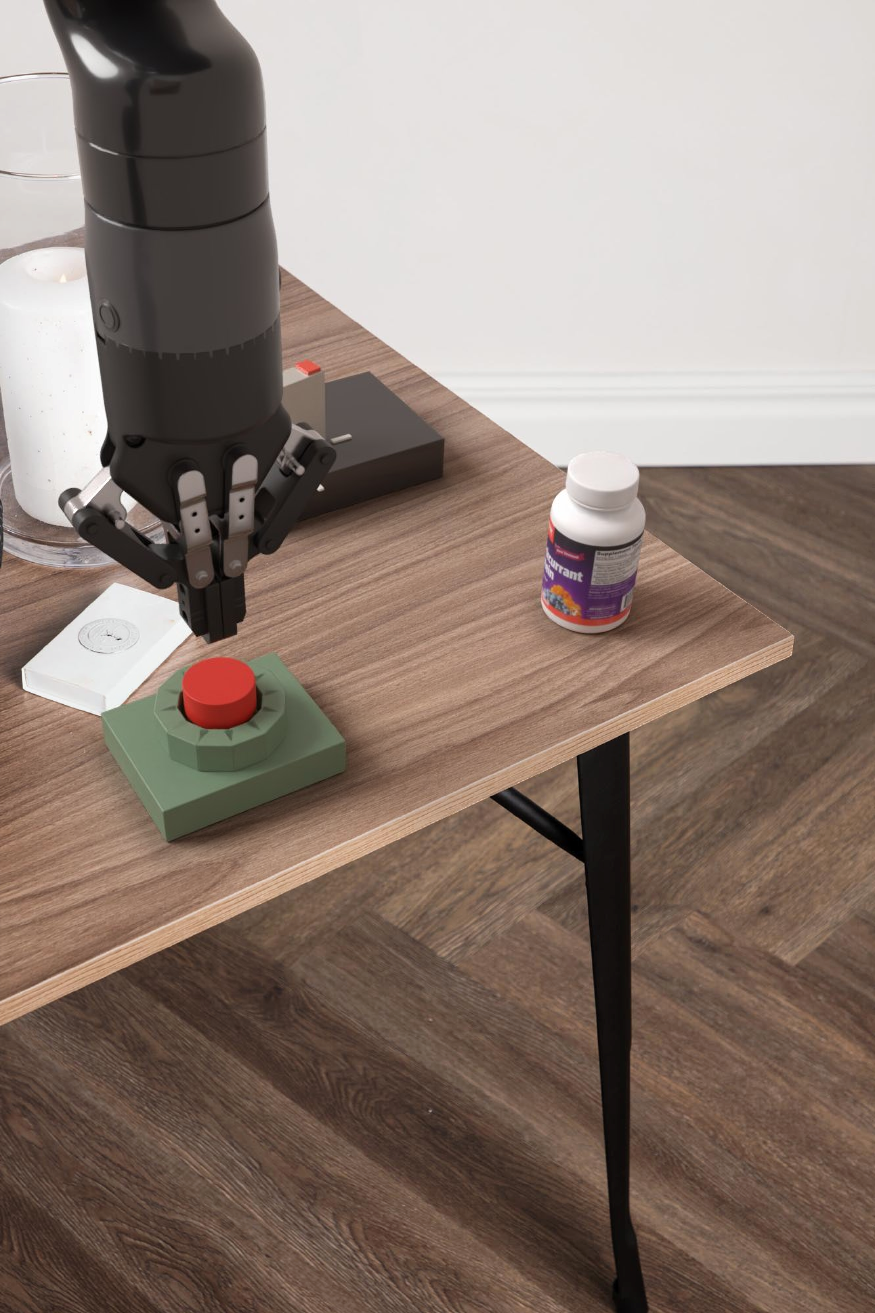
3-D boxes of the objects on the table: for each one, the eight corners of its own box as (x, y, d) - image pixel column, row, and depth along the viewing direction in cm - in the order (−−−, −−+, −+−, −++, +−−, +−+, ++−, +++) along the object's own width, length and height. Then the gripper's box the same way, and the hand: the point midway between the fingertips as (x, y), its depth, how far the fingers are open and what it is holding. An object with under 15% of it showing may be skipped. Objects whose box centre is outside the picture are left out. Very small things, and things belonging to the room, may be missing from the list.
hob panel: (256, 551, 87) (254, 509, 85) (179, 460, 95) (175, 419, 93) (456, 488, 94) (458, 447, 92) (369, 408, 101) (369, 368, 99)
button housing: (166, 843, 69) (159, 785, 66) (104, 743, 74) (95, 686, 72) (346, 771, 73) (346, 714, 71) (276, 681, 78) (273, 625, 76)
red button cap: (202, 740, 70) (200, 713, 68) (173, 696, 72) (170, 670, 71) (268, 715, 71) (267, 689, 70) (237, 674, 73) (235, 648, 72)
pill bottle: (524, 591, 85) (538, 454, 79) (601, 571, 87) (621, 435, 81) (567, 645, 82) (585, 506, 75) (647, 623, 84) (671, 485, 77)
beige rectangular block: (263, 473, 89) (259, 392, 85) (248, 462, 89) (243, 382, 86) (325, 446, 91) (324, 367, 87) (310, 436, 92) (308, 357, 88)
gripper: (289, 233, 62) (299, 550, 74) (-6, 297, 57) (54, 630, 68) (375, 303, 58) (371, 631, 69) (62, 381, 52) (114, 724, 63)
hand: (213, 630), depth 68 cm, fingers closed
